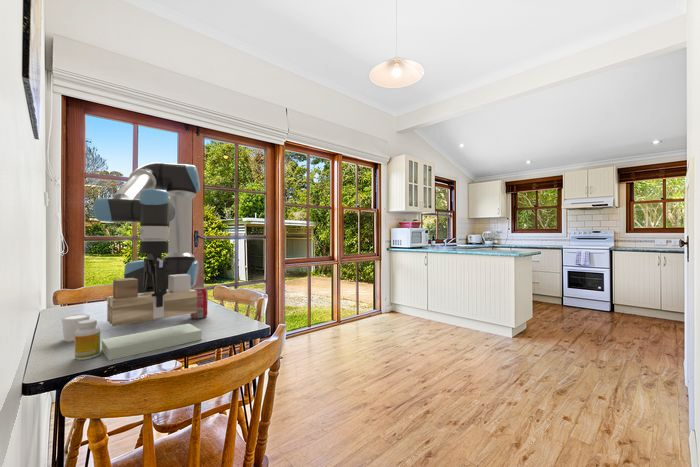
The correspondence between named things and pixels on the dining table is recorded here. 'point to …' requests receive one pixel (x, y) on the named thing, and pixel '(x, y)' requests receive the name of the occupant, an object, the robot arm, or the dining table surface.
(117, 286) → the brown wooden cube
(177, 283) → the white cube
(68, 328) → the white cup
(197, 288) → the beverage can
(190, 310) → the wooden block
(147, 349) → the block
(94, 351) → the supplement bottle
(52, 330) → the dining table surface
